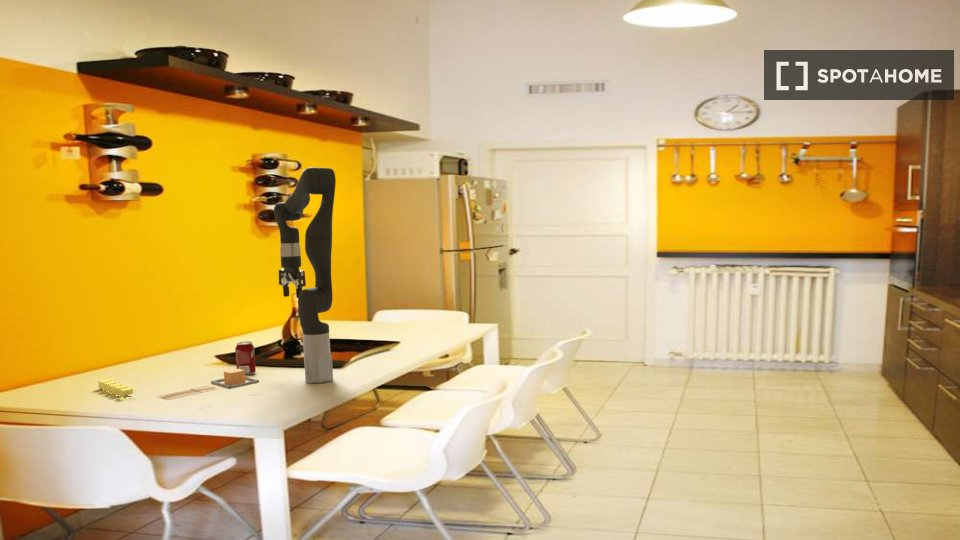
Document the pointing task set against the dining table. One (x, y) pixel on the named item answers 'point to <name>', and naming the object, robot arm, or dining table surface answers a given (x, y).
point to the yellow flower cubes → (115, 388)
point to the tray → (236, 384)
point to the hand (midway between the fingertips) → (292, 297)
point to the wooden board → (187, 392)
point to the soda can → (245, 357)
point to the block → (234, 376)
